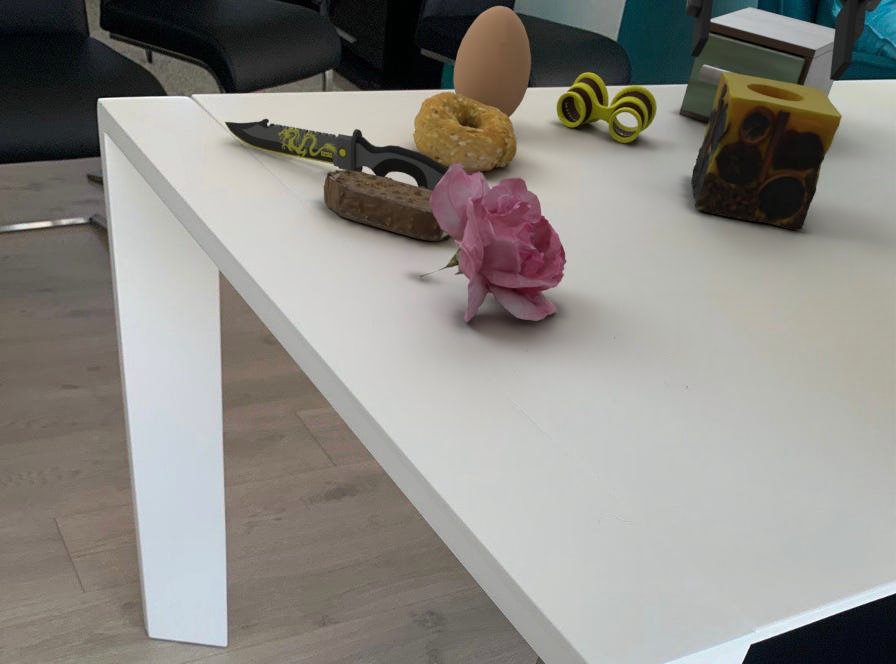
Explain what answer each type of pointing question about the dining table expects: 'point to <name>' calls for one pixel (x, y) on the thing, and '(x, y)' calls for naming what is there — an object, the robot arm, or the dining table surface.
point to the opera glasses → (606, 106)
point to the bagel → (464, 133)
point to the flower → (499, 242)
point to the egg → (494, 60)
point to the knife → (340, 151)
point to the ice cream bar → (383, 204)
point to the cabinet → (780, 43)
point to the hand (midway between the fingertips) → (770, 60)
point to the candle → (763, 150)
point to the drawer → (735, 68)
